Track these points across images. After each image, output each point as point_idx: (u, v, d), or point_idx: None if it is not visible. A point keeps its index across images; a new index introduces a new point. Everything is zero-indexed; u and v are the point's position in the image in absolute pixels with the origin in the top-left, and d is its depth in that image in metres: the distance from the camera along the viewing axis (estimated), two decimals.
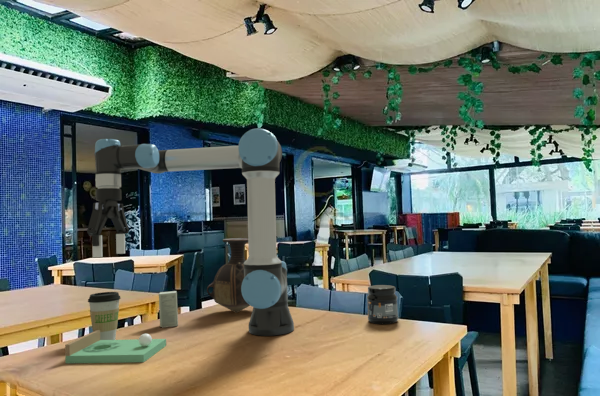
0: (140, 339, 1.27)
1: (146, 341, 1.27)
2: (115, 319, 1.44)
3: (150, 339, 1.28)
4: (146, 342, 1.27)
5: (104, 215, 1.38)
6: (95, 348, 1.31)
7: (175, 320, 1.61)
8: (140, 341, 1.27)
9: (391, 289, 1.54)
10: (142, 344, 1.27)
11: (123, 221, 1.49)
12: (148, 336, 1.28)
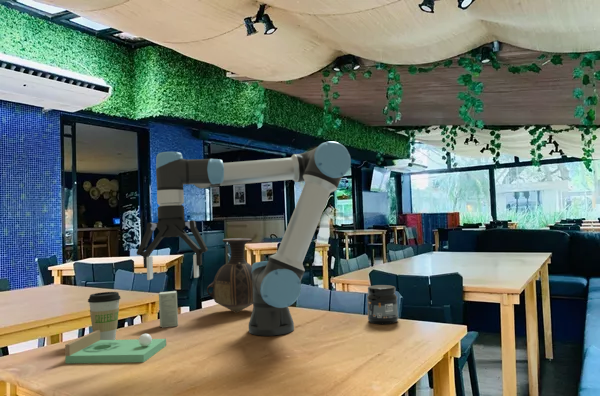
0: (140, 339, 1.27)
1: (146, 341, 1.27)
2: (115, 319, 1.44)
3: (150, 339, 1.28)
4: (146, 342, 1.27)
5: None
6: (95, 348, 1.31)
7: (175, 320, 1.61)
8: (140, 341, 1.27)
9: (391, 289, 1.54)
10: (142, 344, 1.27)
11: None
12: (148, 336, 1.28)
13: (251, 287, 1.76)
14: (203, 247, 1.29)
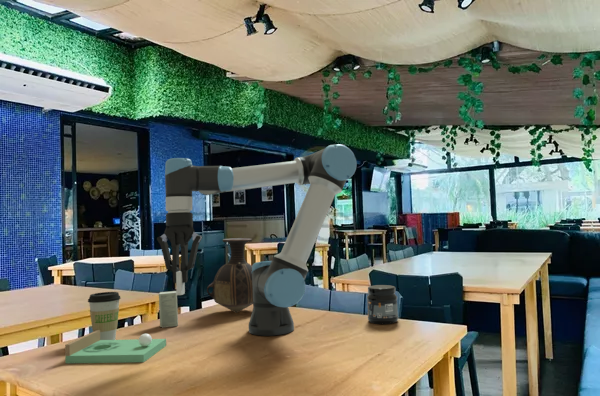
0: (140, 339, 1.27)
1: (146, 341, 1.27)
2: (115, 319, 1.44)
3: (150, 339, 1.28)
4: (146, 342, 1.27)
5: None
6: (95, 348, 1.31)
7: (175, 320, 1.61)
8: (140, 341, 1.27)
9: (391, 289, 1.54)
10: (142, 344, 1.27)
11: None
12: (148, 336, 1.28)
13: (251, 287, 1.76)
14: (190, 264, 1.27)
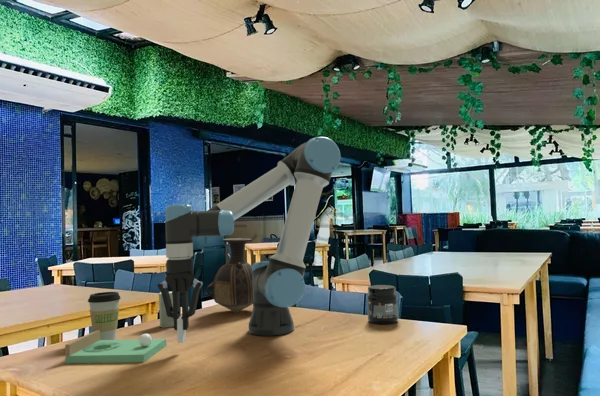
0: (140, 339, 1.27)
1: (146, 341, 1.27)
2: (115, 319, 1.44)
3: (150, 339, 1.28)
4: (146, 342, 1.27)
5: None
6: (95, 348, 1.31)
7: None
8: (140, 341, 1.27)
9: (391, 289, 1.54)
10: (142, 344, 1.27)
11: None
12: (148, 336, 1.28)
13: (251, 287, 1.76)
14: (191, 312, 1.27)
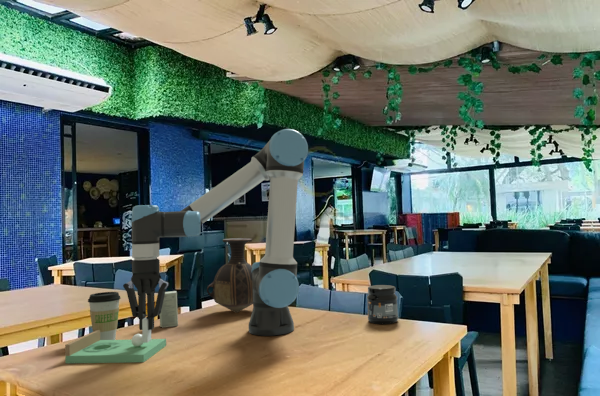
0: (132, 343, 1.27)
1: (137, 338, 1.27)
2: (115, 319, 1.44)
3: (139, 334, 1.29)
4: (137, 339, 1.27)
5: None
6: (95, 348, 1.31)
7: (175, 320, 1.61)
8: (134, 344, 1.27)
9: (391, 289, 1.54)
10: (138, 343, 1.27)
11: None
12: (135, 335, 1.28)
13: (251, 287, 1.76)
14: (156, 312, 1.28)
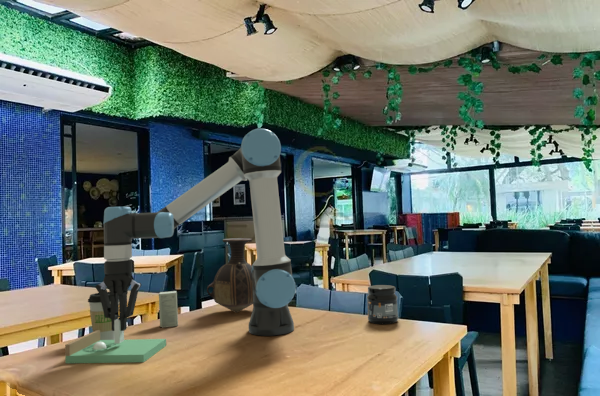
0: None
1: (97, 345, 1.28)
2: None
3: (98, 342, 1.29)
4: (98, 346, 1.28)
5: None
6: None
7: (175, 320, 1.61)
8: None
9: (391, 289, 1.54)
10: None
11: None
12: (95, 344, 1.29)
13: (251, 287, 1.76)
14: (128, 313, 1.28)
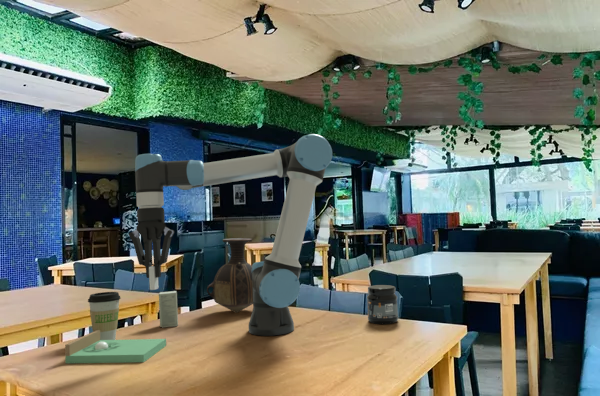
0: None
1: (100, 345, 1.28)
2: (115, 319, 1.44)
3: (102, 342, 1.29)
4: (100, 346, 1.28)
5: None
6: None
7: (175, 320, 1.61)
8: None
9: (391, 289, 1.54)
10: None
11: None
12: (98, 343, 1.29)
13: (251, 287, 1.76)
14: (163, 259, 1.28)
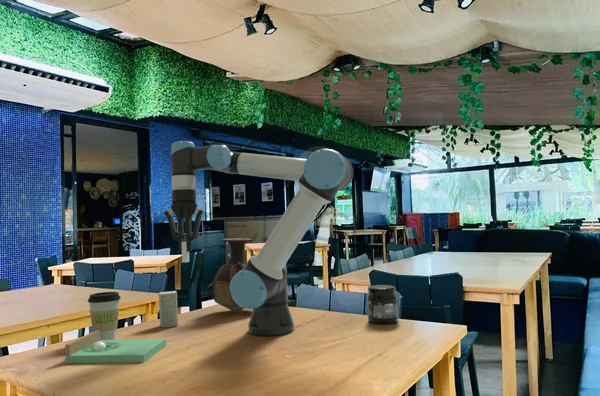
0: None
1: (96, 345, 1.28)
2: (115, 319, 1.44)
3: (97, 342, 1.29)
4: (97, 346, 1.28)
5: None
6: None
7: (175, 320, 1.61)
8: None
9: (391, 289, 1.54)
10: (99, 349, 1.28)
11: None
12: (94, 344, 1.29)
13: None
14: (194, 235, 1.44)
